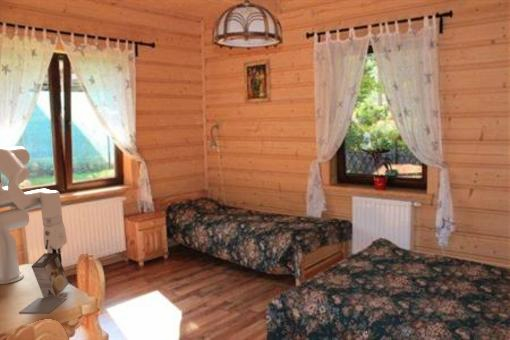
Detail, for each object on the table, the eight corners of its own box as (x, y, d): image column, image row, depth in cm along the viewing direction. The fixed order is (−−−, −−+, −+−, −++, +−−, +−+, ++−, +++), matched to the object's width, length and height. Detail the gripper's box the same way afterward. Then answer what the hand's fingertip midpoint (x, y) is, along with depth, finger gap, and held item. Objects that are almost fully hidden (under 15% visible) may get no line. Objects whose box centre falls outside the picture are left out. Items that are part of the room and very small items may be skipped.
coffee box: (55, 283, 191) (44, 252, 185) (69, 284, 190) (58, 252, 183) (42, 298, 183) (30, 266, 176) (56, 298, 182) (45, 266, 175)
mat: (19, 313, 170) (19, 312, 170) (38, 298, 183) (38, 297, 183) (49, 313, 169) (49, 312, 169) (66, 298, 181) (66, 297, 181)
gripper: (51, 225, 177) (56, 269, 180) (70, 216, 192) (74, 257, 195) (33, 225, 178) (38, 270, 181) (53, 216, 193) (57, 257, 195)
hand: (57, 263), depth 188 cm, fingers closed
